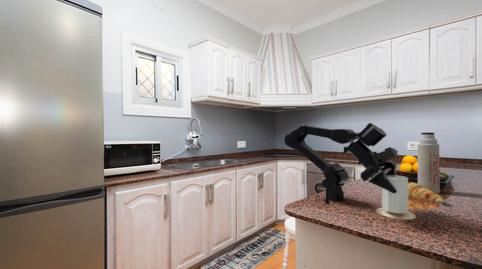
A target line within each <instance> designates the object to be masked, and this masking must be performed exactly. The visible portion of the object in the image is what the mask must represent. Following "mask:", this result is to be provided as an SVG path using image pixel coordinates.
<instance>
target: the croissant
mask: <svg viewBox="0 0 482 269" xmlns="http://www.w3.org/2000/svg"><path fill="white" fill-rule="evenodd" d="M409 199H410V200H411V199H412V200H425V201H432V202H437V203H439V204H442V205H443V204H444V203H445V200H444V198H443V197H442V196H441V195H439V193H434V192H433V191H432V190H431V189H428V188H424V187H423V186H421V185H420V184H418V182H412V181H410V182H408V200H409Z"/></svg>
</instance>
